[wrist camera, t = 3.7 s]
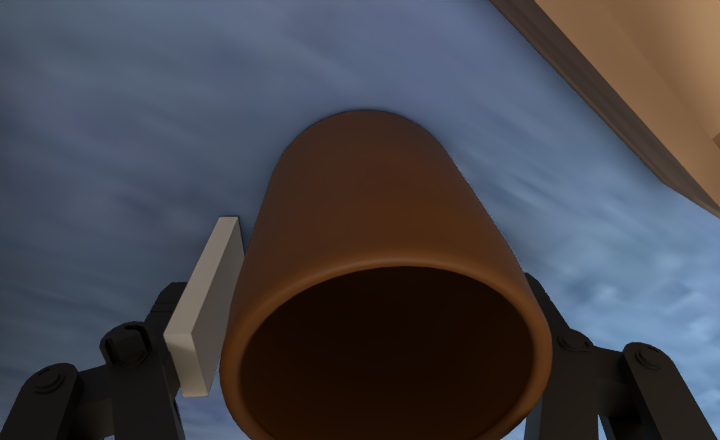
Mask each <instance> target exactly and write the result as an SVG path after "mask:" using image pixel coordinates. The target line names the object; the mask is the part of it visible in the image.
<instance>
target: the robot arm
mask: <svg viewBox="0 0 720 440" xmlns="http://www.w3.org/2000/svg"><path fill="white" fill-rule="evenodd" d="M243 261H244V251H243V245H242V239H241V233H240V227H239V221H238V217H219V219H218V221H217V223H216V225H215V228H214V230H213V232H212V234H211V236H210V238H209V240H208V242H207V244H206V246H205V248H204V250H203V253H202V255H201V257H200V259H199V261H198V263H197V265H196V267H195V269H194V271H193V273H192V276H191V278H190V280H189V282H173V283H171V284H169V285H168V286H167V287H166V288H165V289H164V290H162V291H161V292H160V294H159V296H158V298H157V300H156V301H155V305H153V307H152V309H151V310H150V314H148V316H147V318H146V319H145V321H144V322H136V321H133V322H128V323H124V324H122V325H119V326H117V327H115V328H113V329H112V330H111V331H109V332H108V333H107V334H106V335H105V336H104V337H103V339H102V340H101V342H100V346H99V348H100V350H101V352H102V355H103V357H104V359H105V361H106V364H105V365H102V366H99V367H96V368H92V369H88V370H85V371H81V372H78V371H77V369H76V368H75V366H74V365H72V364H68V363H58V364H54V365H51V366H48V367H45V368H43V369H42V370H40V371H38V372H36V373H35V374H34V375H32V376H31V377H30V378H29V379H28V380H27V381H26V382H25V384H24V385H23V386H22V388H21V390H20V392H19V394H18V396H17V398H16V401H15V403H14V405H13V407H12V409H11V411H10V414H9V416H8V418H7V420H6V422H5V424H4V426H3V429H2V431H1V433H0V440H104V438H105V437H108V436H111V435H114V437H115V440H186V439H185V435H184V431H183V427H182V422H181V418H180V414H179V410H178V406H177V403H176V400H175V397H176V395H177V392H178V389H179V387H180V388H181V391H182V394H183V397H200V396H208V395H209V391H210V388H211V385H212V381H213V378H214V375H215V371H216V368H217V365H218V361H219V358H220V355H221V352H222V347H223V342H224V338H225V334H226V329H227V323H228V317H229V311H230V306H231V301H232V297H233V293H234V290H235V286H236V283H237V280H238V276H239V273H240V270H241V267H242V264H243ZM524 275H525V277H526V279H527V282H528V284H529V286H530V288H531V290H532V293H533V294H534V296H535V298H536V300H537V302H538V304H539V306H540V308H541V310H542V312H543V314H544V316H545V318H546V320H547V322H548V326H549V330H550V333H551V337H552V351H553V353H552V365H551V373H550V376H549V379H548V382H547V385H546V388H545V390H544V391H543V393H542V395H541V397H540V399H539V401H538V402H537V404H536V405H535V407H534V408H533V409H532V411H531V412H530V413H529V414H528V415H527V418H526V426H525V434H524V440H599V437H598V415H599V417H600V420H601V423H602V426H603V429H604V432H605V435H606V438H607V440H718V439H717V438H716V436H715V434H714V432H713V431H712V429H711V427H710V425H709V424H708V422H707V420H706V418H705V417H704V415H703V413H702V411H701V410H700V408H699V406H698V404H697V403H696V401H695V399H694V397H693V396H692V394H691V392H690V390H689V389H688V387H687V385H686V383H685V382H684V380H683V378H682V376H681V375H680V373H679V371H678V369H677V368H676V366H675V364H674V363H673V361H672V360H671V359H670V358H669V356H668V355H666V354H665V353H664V352H662V351H661V350H660V349H658V348H655V347H653V346H651V345H649V344H645V343H641V342H632V343H629V344H627V345H626V346H625V348H624V349H623V351H622V352H619V351H614V350H609V349H605V348H600V347H597V346H594V345H593V343H592V342H591V341H590V340H589V338H588V337H586V336H585V335H583V334H582V333H581V332H578V331H576V330H573V329H570V328H569V326H568V325H567V323H566V322H565V320H564V319H563V317H562V316H561V314H560V313H559V311H558V310H557V308H556V307H555V305H554V304H553V302H552V301H550V298H549V296H548V295H547V293H545V290H544V289H543V287H542V286H541V284H540V283H539V281H538V280H536V279H535V278H534V277H532V276H531V275H530V274H528V273H524Z"/></svg>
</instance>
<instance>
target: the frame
mask: <svg viewBox="0 0 720 440" xmlns="http://www.w3.org/2000/svg"><path fill="white" fill-rule="evenodd" d="M489 1H490V2H491V3H492V4H493V5H494V6H495V7H496V8H497V9H498V10H499V11H500V12H501V13H502V14H503V15H504V16H505V17H506V19H507V20H508V21H509V22H510V23H511V24H512V25H513V26H514V27H515V28H516V29H517V30H518V31H519V32H520V33H521V34H522V35H523V36H524V37H525V38H526V40H527V41H528V42H529V43H530V44H531V45H532V46H533V47H534V48H535V49H536V50H537V51H538V52H539V53H540V54H541V55H542V56H543V57H544V58H545V60H546V61H547V62H548V63H549V64H550V65H551V66H552V67H553V68H554V69H555V70H556V71H557V72H558V73H559V74H560V75H561V76H562V77H563V78H564V79H565V81H566V82H567V83H568V84H569V85H570V86H571V87H572V88H573V89H574V90H575V91H576V92H577V93H578V94H579V95H580V96H581V97H582V98H583V99H584V101H585V102H586V103H587V104H588V105H589V106H590V107H591V108H592V109H593V110H594V111H595V112H596V113H597V114H598V115H599V116H600V117H601V118H602V119H603V120H604V122H605V123H606V124H607V125H608V126H609V127H610V128H611V129H612V130H613V131H614V132H615V133H616V134H617V135H618V136H619V137H620V138H621V139H622V140H623V142H624V143H625V144H626V145H627V146H628V147H629V148H630V149H631V150H632V151H633V152H634V153H635V154H636V155H637V156H638V157H639V158H640V159H641V160H642V161H643V163H644V164H645V165H646V166H647V167H648V168H649V169H650V170H651V171H652V172H653V173H654V174H655V175H656V176H657V177H658V178H659V179H660V180H661V181H662V183H664V184H665V185H667V186H668V187H670V188H672V189H673V190H675V191H676V192H678V193H680V194H681V195H683V196H684V197H686V198H688V199H689V200H691V201H692V202H694V203H695V204H697V205H699V206H700V207H702V208H703V209H705V210H707V211H708V212H710V213H711V214H713V215H715V216H716V217H718V218H719V219H720V0H489Z"/></svg>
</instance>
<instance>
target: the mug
mask: <svg viewBox="0 0 720 440" xmlns="http://www.w3.org/2000/svg"><path fill="white" fill-rule="evenodd" d="M552 353H553V351H552V337H551V333H550V330H549V326H548V322H547V320H546V318H545V316H544V314H543V312H542V310H541V308H540V306H539V304H538V302H537V300H536V298H535V296H534V294H533V293H532V290H531V288H530V286H529V284H528V282H527V279H526V277H525V275H524V273H523V271H522V269H521V267H520V265H519V263H518V261H517V259H516V257H515V256H514V254H513V252H512V250H511V249H510V247H509V245H508V244H507V242H506V241H505V239H504V238H503V236H502V235H501V233H500V231H499V230H498V228H497V227H496V225H495V224H494V222H493V221H492V219H491V218H490V216H489V215H488V213H487V211H486V210H485V208H484V207H483V205H482V204H481V202H480V201H479V199H478V198H477V196H476V194H475V193H474V191H473V190H472V188H471V187H470V186H469V184H468V183H467V181H466V180H465V179H464V177H463V176H462V174H461V173H460V171H459V170H458V168H457V167H456V165H455V164H454V162H453V160H452V159H451V158H450V156H449V155H448V153H447V152H446V151H445V149H444V148H443V147H442V145H441V144H440V143H439V142H438V141H437V140H436V139H435V138H434V137H433V136H432V135H431V134H430V133H428V132H427V131H426V130H424V129H423V128H422V127H420V126H419V125H417V124H415V123H413V122H411V121H410V120H408V119H405V118H403V117H400V116H397V115H395V114H391V113H386V112H382V111H371V110H361V111H351V112H345V113H340V114H337V115H334V116H331V117H328V118H326V119H324V120H321V121H319V122H317V123H316V124H314V125H313V126H311V127H309V128H308V129H306V130H305V131H304V132H303V133H302V134H300V135H299V136H298V137H297V138H296V139H295V140H294V141H293V142H292V143H291V144H290V145H289V146H288V147H287V148H286V150H285V151H284V153H283V154H282V156H281V157H280V159H279V161H278V163H277V165H276V167H275V169H274V171H273V173H272V176H271V179H270V182H269V185H268V188H267V191H266V194H265V197H264V200H263V203H262V205H261V208H260V211H259V214H258V217H257V220H256V223H255V226H254V229H253V232H252V236H251V239H250V242H249V245H248V248H247V251H246V254H245V257H244V261H243V264H242V267H241V270H240V273H239V276H238V280H237V283H236V286H235V290H234V293H233V297H232V301H231V306H230V311H229V317H228V323H227V329H226V334H225V338H224V342H223V347H222V352H221V359H220V368H219V374H220V385H221V389H222V393H223V396H224V400H225V403H226V406H227V408H228V410H229V412H230V414H231V416H232V418H233V420H234V421H235V422H236V423H237V425H238V426H239V427H240V429H241V430H242V431H243V432H244V433H245V434H246V435H247V436H248V437H249V438H250V439H251V440H500V439H502V438H503V437H505V436H506V435H507V434H509V433H510V432H511V431H512V430H513V429H514V428H515V427H517V426H518V425H519V424H520V423H521V422H522V421H523V420H524V419H525V418H526V417H527V415H528V414H529V413H530V412H531V411H532V409H533V408H534V407H535V405H536V404H537V402H538V401H539V399H540V397H541V395H542V393H543V391H544V390H545V388H546V385H547V382H548V379H549V376H550V373H551V365H552Z"/></svg>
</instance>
